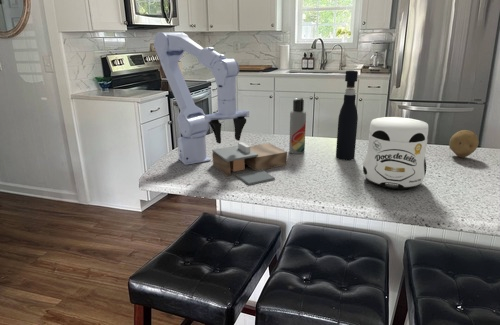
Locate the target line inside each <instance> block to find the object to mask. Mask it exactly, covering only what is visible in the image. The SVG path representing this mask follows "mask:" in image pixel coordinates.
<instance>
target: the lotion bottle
mask: <svg viewBox="0 0 500 325" xmlns="http://www.w3.org/2000/svg"><path fill="white" fill-rule="evenodd" d="M304 105H305V100H304V98H303V97H301V98H294V99H293V100H292V111H290V112H289V114H290V115H289V146H288V148H289V149H288V150H289V153H291V154H296V155H299V154H303V153H304V152H305V150H306V149H305V147H306V123H307V112H306V111H305V110H304V108H305V106H304Z"/></svg>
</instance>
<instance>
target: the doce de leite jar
mask: <svg viewBox="0 0 500 325" xmlns="http://www.w3.org/2000/svg"><path fill="white" fill-rule="evenodd" d="M428 135H429V124H428V123H427V122H425V121H423V120H419V119H414V118H408V117H401V116H385V117H384V116H382V117H377V118H373V119H372V120H371V121H370V125H369V134H368V144H367V150H366V153H365V156H364V159H363V162H362V172H363V176H364V177H365V179H366V180H368V181H369V182H370V183H372V184H374V185H377V186H379V187H383V188H388V189H397V190H403V189H406V190H407V189H411V188H415V187H417V186H420V185H421V184H422V183H423V181H424V179H425V177H426V173H427V161H426V150H427V145H428Z"/></svg>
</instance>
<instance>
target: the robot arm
mask: <svg viewBox="0 0 500 325" xmlns="http://www.w3.org/2000/svg"><path fill="white" fill-rule="evenodd" d="M153 47H154V50H155V52H156V55H157V57H158V59H159V61H160V62H159V63H160V66H161V68H162V70H163V73H164V75H165V77H166V80H167V82H168V85H169V88H170V89H171V92H172V95H173V96H174V98H175V101H176V104H177V107H178V109H179V114H178V115H177V117H176V121H177V124H178V130H179V133H180V134H181V135H182V136H181V137H178V138H177V150H178V151H177V152H178V158H177V159H178V160H180V162H182V164H183V165H184V166H187V165H193V164H194V165H195V164H199V163H204V162H209V161H212V159H211V158H210V157H209V156H207V155H208V154H207V140H206V135H207V134H208V131H209V129H210V128H211V130H212V132H213V135H214V137H215V142H216V143H217V144H222V135H221V131H222V125H223V124H222V123H221V122H220V121H223V120H224V121H225V120H233V126H234V139H235V140H236V141H240V140H241V135H242V132H243V129H244V126H245V124H246V123H247V118H250V111H249V110H246V109H244V110H237V88H236V87H237V86H236V85H237V84H236V83H237V81H236V78H237V76H238V74H239V73H240V65H239V62H238V61H237V60H236V59H235V58H234V57H229V58H228V57H226V55H225V54H223V53H222V54H221V53H219V52H217V51H216V50H215V47H213V46H206V47H203V46H201V45H200V44H198V43H197V42H195V41H194V40H193V39H192V38H191V37H189V35H188V34H186V33H184V32H183V31H174V32H173V31H172V32H170V31H168V32H167V31H165V32H162V31H158V32H157V33H156V34H155V36H154V40H153ZM185 52H186V53H188V54H190V55H191V56H193V57H195V58H197V61H198V63H199V64H200V65H201V66H203V67H204V68H206V69H208V70H209V71H211V72H212V75H213V77H214V79H215V84H216V87H217V88H216V89H217V90H216V91H217V92H216V93H217V112H214V113H209V114H205V112H204V110H203V108H200V107H199V106H197V105H196V104H195V101H194V99H193V97H192V95H191V91H190V89H189V87H188V85H187V83H186V80H185V78H184V76H183V73H182V71H181V68H180V65H179V61H180V60H181V59H182V57H183V55H184V53H185Z"/></svg>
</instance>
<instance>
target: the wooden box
mask: <svg viewBox="0 0 500 325" xmlns="http://www.w3.org/2000/svg"><path fill="white" fill-rule="evenodd" d="M249 146H250V150H251V151H253V152H255V153H257V154H258V156H257V157H251V158H246V159H244V164H245V165H247V166H248V167H249V168H251V169H253V171H257V170H266V169H271V168H275V167H281V166H287V164H288V162H287V161H288V152H287V151H286V150H284V149H283V148H281V147H278V146H276V145H274V144H272V143H269V142H267V143H262V144H256V145H249ZM211 153H212V165H213V167H215V168H216V169H218V170H219V171H220V172H221V173H222V174H224V175H225V176H226V177H230V176H231V169H230V162H227V161H225V160H224V159H222V158H221V157H220V156H218V155H217V154H215V153H214V152H211Z"/></svg>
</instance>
